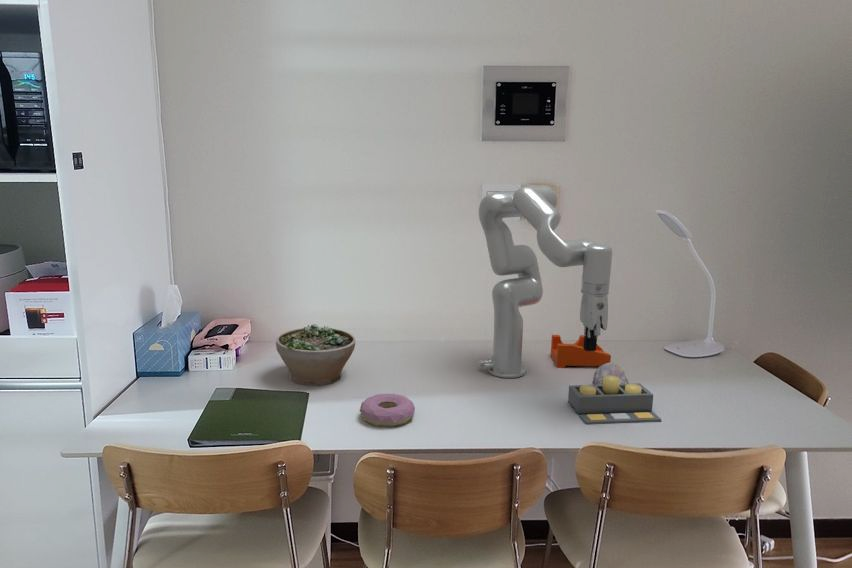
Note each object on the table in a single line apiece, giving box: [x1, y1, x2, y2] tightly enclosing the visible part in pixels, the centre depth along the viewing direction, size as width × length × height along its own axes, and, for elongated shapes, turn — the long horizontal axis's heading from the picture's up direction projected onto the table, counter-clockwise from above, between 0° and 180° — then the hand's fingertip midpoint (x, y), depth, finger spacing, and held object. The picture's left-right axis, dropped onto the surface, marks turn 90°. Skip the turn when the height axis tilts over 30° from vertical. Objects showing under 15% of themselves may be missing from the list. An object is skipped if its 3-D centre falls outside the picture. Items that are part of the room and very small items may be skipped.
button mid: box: [602, 375, 620, 395], centre depth 195 cm, size 5×5×5 cm
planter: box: [275, 323, 356, 387], centre depth 216 cm, size 26×25×15 cm
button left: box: [579, 384, 596, 396], centre depth 195 cm, size 5×5×5 cm
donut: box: [359, 393, 416, 428], centre depth 187 cm, size 16×15×5 cm
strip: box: [578, 411, 662, 425], centre depth 189 cm, size 22×5×1 cm, turn 97°
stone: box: [592, 362, 630, 385], centre depth 213 cm, size 17×10×10 cm
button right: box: [625, 383, 642, 394], centre depth 196 cm, size 5×5×5 cm
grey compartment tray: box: [567, 383, 654, 416], centre depth 196 cm, size 22×9×6 cm, turn 97°
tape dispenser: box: [550, 334, 612, 369], centre depth 235 cm, size 18×13×8 cm
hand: (589, 349), depth 192 cm, fingers closed
